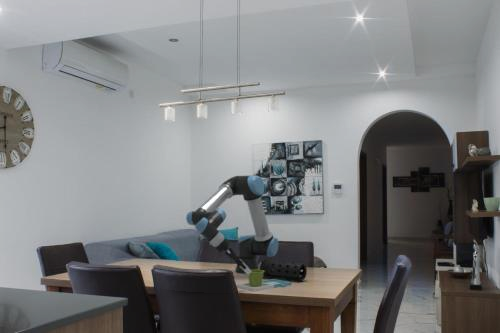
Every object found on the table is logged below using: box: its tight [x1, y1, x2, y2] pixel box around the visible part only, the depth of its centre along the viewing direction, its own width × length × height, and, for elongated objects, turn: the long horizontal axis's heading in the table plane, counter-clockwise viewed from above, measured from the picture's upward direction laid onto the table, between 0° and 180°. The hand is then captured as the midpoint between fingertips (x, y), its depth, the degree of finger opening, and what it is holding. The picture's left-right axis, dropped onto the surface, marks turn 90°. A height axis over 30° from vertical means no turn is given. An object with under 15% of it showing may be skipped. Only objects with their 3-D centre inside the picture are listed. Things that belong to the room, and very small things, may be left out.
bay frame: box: [236, 278, 292, 292], centre depth 269 cm, size 18×27×2 cm
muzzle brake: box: [258, 259, 308, 282], centre depth 291 cm, size 10×28×10 cm, turn 55°
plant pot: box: [247, 270, 264, 287], centre depth 265 cm, size 9×9×9 cm
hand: (248, 271), depth 264 cm, fingers open, 13 cm apart
